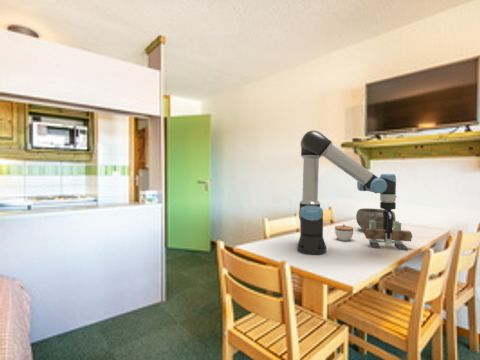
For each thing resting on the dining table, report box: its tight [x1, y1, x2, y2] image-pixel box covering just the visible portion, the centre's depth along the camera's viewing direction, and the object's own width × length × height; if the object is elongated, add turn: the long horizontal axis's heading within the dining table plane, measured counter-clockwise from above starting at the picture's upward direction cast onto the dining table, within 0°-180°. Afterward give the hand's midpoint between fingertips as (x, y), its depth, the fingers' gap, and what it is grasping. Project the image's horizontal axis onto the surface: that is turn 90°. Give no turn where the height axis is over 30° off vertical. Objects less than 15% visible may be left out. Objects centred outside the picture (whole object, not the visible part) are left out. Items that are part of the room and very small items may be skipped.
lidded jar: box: [334, 224, 354, 242], centre depth 165 cm, size 11×11×9 cm
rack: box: [368, 220, 403, 244], centre depth 160 cm, size 17×6×12 cm, turn 72°
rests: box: [368, 240, 408, 251], centre depth 149 cm, size 17×9×2 cm, turn 72°
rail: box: [364, 229, 413, 242], centre depth 148 cm, size 23×4×5 cm, turn 72°
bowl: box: [355, 207, 396, 231], centre depth 185 cm, size 24×24×15 cm
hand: (387, 243), depth 149 cm, fingers closed on rail, 3 cm apart
